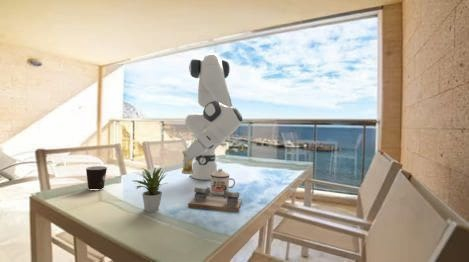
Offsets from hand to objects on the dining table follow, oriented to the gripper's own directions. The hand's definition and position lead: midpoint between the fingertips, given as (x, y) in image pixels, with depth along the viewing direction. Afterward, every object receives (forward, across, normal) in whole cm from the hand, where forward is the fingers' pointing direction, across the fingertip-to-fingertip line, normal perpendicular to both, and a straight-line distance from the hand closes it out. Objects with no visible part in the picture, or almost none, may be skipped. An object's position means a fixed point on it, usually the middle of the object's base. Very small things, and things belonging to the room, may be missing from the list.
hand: (186, 161), depth 106 cm
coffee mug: (+45, -7, -20) cm, 49 cm away
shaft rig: (+3, 0, +22) cm, 22 cm away
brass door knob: (+3, 0, +4) cm, 5 cm away
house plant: (+19, +11, +6) cm, 23 cm away
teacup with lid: (+4, -18, +21) cm, 28 cm away
